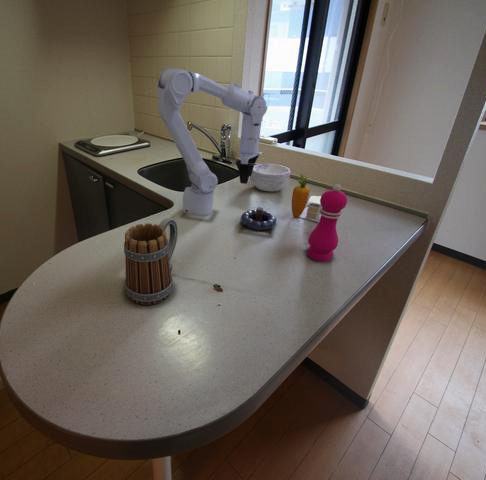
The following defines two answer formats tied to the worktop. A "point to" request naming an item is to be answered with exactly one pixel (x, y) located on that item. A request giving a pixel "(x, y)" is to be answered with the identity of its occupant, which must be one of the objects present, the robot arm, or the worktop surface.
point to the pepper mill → (327, 225)
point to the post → (258, 218)
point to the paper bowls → (270, 176)
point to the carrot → (300, 197)
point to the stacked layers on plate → (312, 209)
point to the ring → (255, 224)
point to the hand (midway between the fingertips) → (245, 179)
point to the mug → (149, 261)
